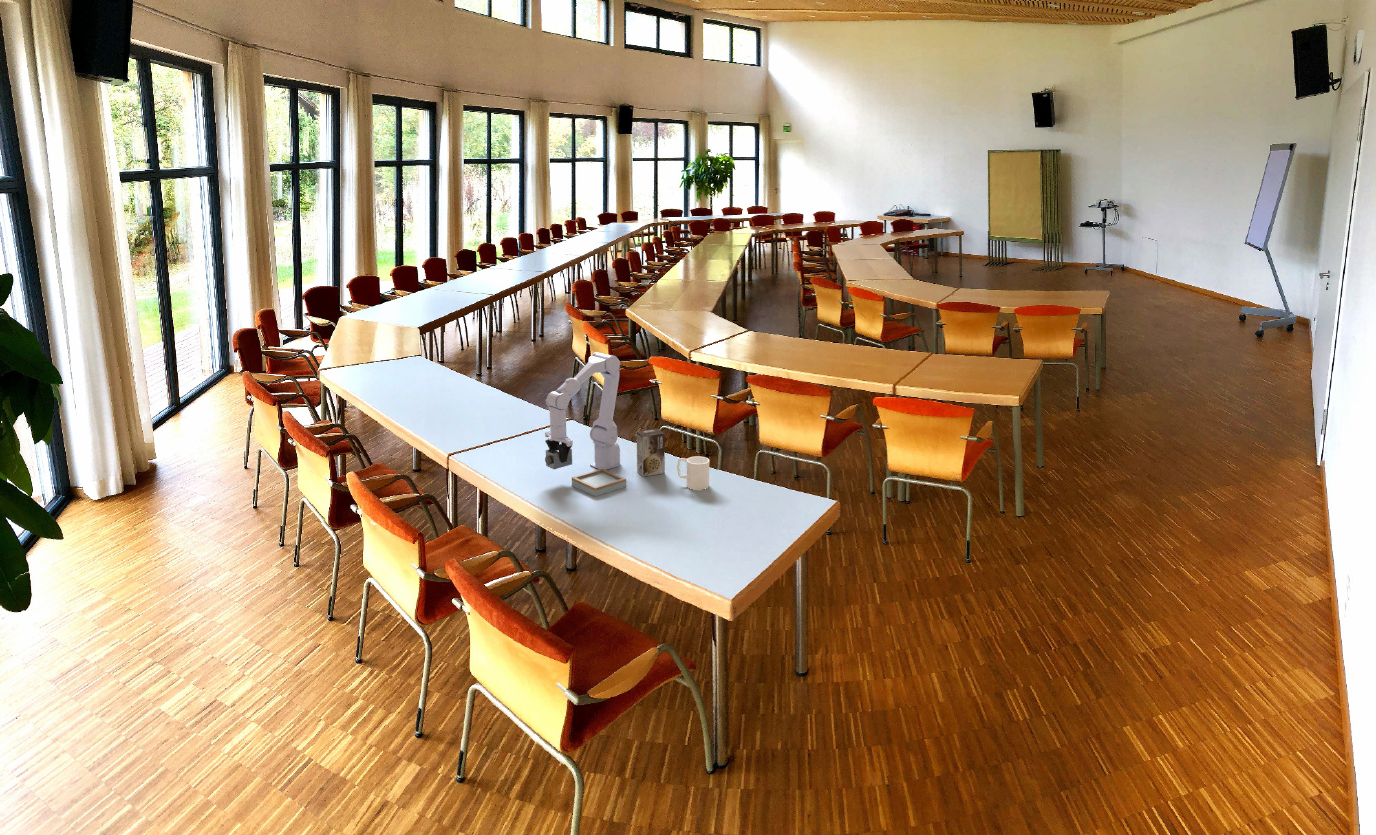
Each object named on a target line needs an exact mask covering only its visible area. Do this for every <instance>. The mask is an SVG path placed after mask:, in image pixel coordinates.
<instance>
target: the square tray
mask: <svg viewBox="0 0 1376 835" xmlns="http://www.w3.org/2000/svg"><path fill="white" fill-rule="evenodd" d="M571 486H573V487H574V488H577V489H579V490H581V491H584V492H586V493H588V494H590V495H592V496H593V497H597V496H600V495H603V494H608V493H610V492H614V491H616V490H620V489H623V488H626V487H627V478H625V477H623V476H621V475H618V474H616V473H613V472H611V471H609V470H608V469H607V470H605V469H596V470H592V471H589V472H587V473H583V474H580V475H576V476H573V477H571Z"/></svg>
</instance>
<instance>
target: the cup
mask: <svg viewBox="0 0 1376 835" xmlns="http://www.w3.org/2000/svg"><path fill="white" fill-rule="evenodd" d="M677 460H678V461H677V465H676V469H677V474H678V477H679V479H680V478H681V479H686V488H687V487H688V488H687V489H689V488H690V489H689V490H691V489H693V490H692V491H703V490H702V489H705V488H707V489H708V488H709V487H710V459H709V458H708V457H705V456H698V455H697V456H691V457H688V458H684V457H681V458H678V459H677ZM681 461H683V462H685V463H686V474H681V470H680V469H681V468H680V467H681V466H680V465H681ZM708 486H709V487H708ZM705 490H706V489H705Z"/></svg>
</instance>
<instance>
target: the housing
mask: <svg viewBox="0 0 1376 835" xmlns="http://www.w3.org/2000/svg"><path fill="white" fill-rule="evenodd" d="M544 462H545V466H546V467H547V468H550V469H552V470H557V469H560V468H564V467H568V466H571V465H573V449H572V448H571V449H570V451H569V454H568V458H567V462H564V463H561V461H560V454H559V450H558V448H557V447H556V448H553V449H549V448H548V449H546V450H545V458H544Z"/></svg>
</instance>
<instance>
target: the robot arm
mask: <svg viewBox="0 0 1376 835" xmlns="http://www.w3.org/2000/svg"><path fill="white" fill-rule="evenodd" d="M620 368H621V361H620V360H619V358H618V357H617V356H616V355H612V354H611V355H610V354H607V353H602V352H600V351H595V352H593V353H592V355H591V356H589V357H588V362H587V363H586V364H585V365H584V366H583V367H582V368H581V370H580V371H579V372H578V373H577V374H576V375H575V376H574V377H569V378H566V379H565V381H564V382H563V383H562V384H561V385H560V386H559V387H558V388H557V389H556V390H555V391H554V390H553V391H550V392H549V393H548V394H547V396H546V399H545V404H546V406H547V408H548V412H549V428H550V429H549V430H547V431H544V437H545V438H548V439H545V444H546V445H547V447H548V450H549V449H553V448H556V447H557V448H558V450H559V454H560V461H561V463H564V462H567V458H568V454H569V451H570V449H572V447H573V445H574V444H573V440H572V439H571V438H570V436H568V435H567V411H566V410H567V408H568V406H569V404H570V401H571V399H572V398H573V397H574V396H575V395H576V394H577V393H578V392H579V391H580V390H581V385H582V384H584V382H586V381H587V380H589V378H591V377H592V376H593V375H594V374H597V373H600V375H602V377H603V378H604V379H603V385H602V386H603V387H602V393H601V400H600V406H599V410H598V411H599V412H598V417H597V418H596V420H594V421H593V422H592V423H593V424H592V428H590V431H589V437H590V440H592V443H593V444H594V462H592V463H590V465H589V466H591V467H592V468H595V469H596V470H599V469H605V470H607V471H608V470H609V469H610V470H611V469H614V468H616V467H620V466H622V463H621V449H620V445H619V443H618V442H617V440H618V438H619V437H618V426H617V425H616V423H615V421H614V414H615V409H616V402H617V395H618V387H619V382H620Z"/></svg>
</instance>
